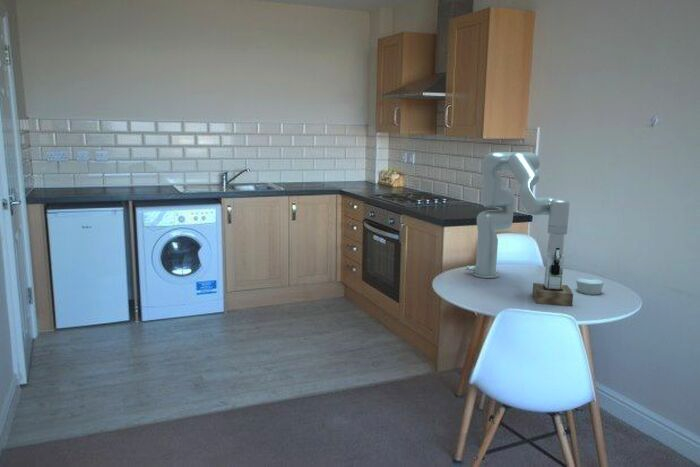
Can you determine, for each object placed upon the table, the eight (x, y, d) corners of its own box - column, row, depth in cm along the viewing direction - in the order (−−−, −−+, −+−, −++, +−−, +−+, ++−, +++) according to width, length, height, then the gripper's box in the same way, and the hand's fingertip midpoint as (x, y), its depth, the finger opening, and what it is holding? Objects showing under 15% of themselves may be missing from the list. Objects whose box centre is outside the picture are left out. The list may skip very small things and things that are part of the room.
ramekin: (595, 289, 263) (596, 277, 262) (607, 295, 252) (608, 284, 251) (571, 288, 263) (572, 277, 262) (581, 295, 252) (582, 283, 251)
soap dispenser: (557, 286, 245) (560, 252, 243) (561, 290, 240) (564, 255, 237) (543, 285, 246) (546, 251, 243) (547, 289, 240) (550, 254, 238)
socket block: (535, 303, 238) (536, 291, 237) (532, 294, 252) (533, 282, 251) (572, 305, 235) (573, 293, 235) (566, 296, 249) (567, 285, 248)
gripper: (545, 226, 248) (541, 267, 251) (550, 232, 231) (546, 277, 234) (563, 227, 246) (560, 268, 249) (570, 233, 230) (566, 278, 233)
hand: (553, 272), depth 242 cm, fingers closed on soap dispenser, 6 cm apart
